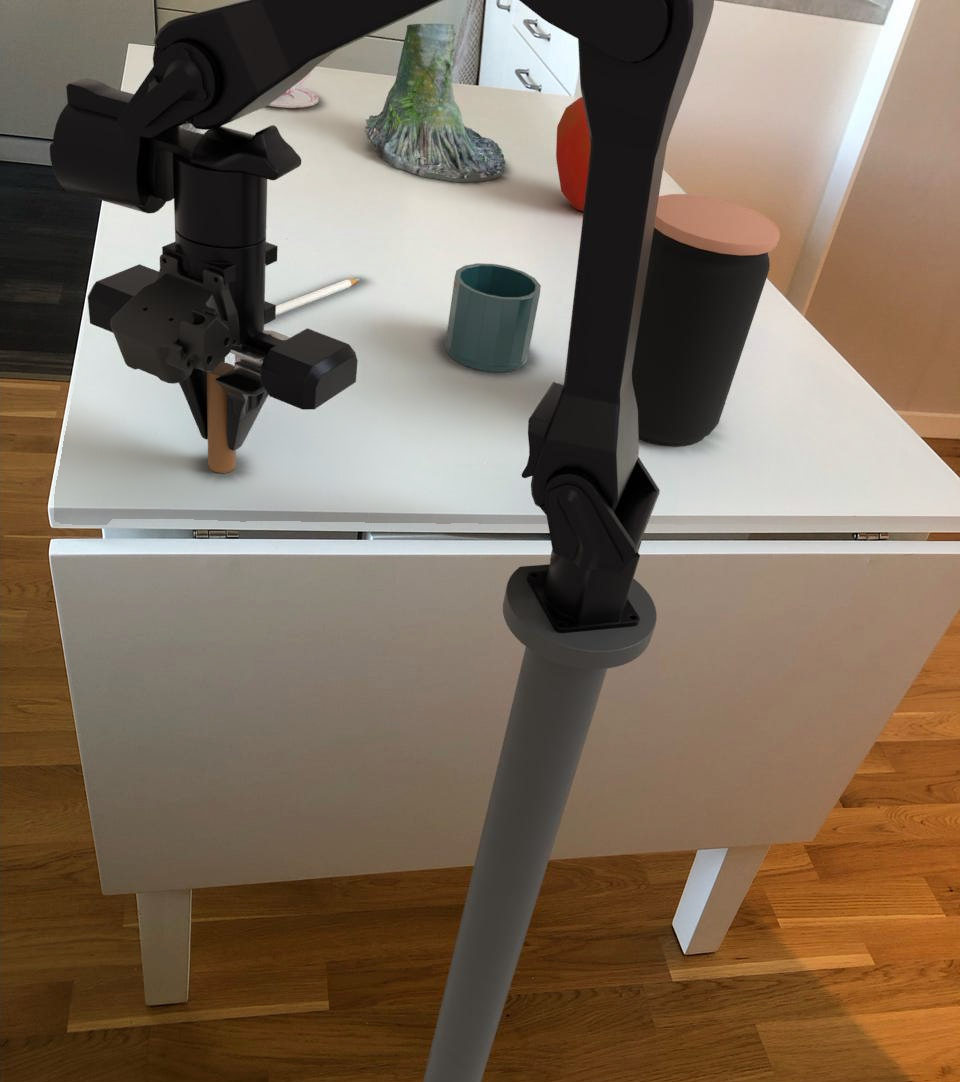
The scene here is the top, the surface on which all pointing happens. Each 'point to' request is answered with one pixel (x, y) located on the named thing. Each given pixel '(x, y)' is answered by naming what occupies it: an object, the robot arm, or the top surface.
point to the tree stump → (430, 115)
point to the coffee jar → (696, 313)
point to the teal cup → (492, 317)
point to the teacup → (297, 97)
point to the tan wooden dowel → (218, 423)
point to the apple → (573, 153)
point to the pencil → (314, 295)
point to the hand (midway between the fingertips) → (222, 442)
